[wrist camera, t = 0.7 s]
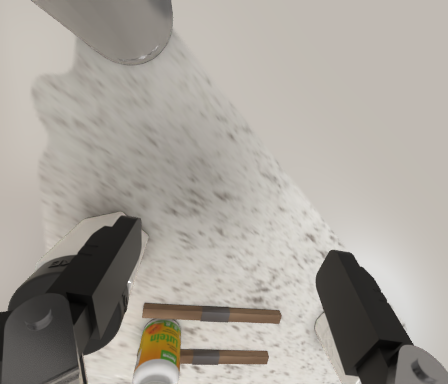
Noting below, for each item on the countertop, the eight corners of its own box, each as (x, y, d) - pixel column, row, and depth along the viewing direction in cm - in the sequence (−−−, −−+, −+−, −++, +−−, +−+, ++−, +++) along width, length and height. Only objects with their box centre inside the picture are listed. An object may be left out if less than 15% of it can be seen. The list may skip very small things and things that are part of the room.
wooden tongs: (144, 302, 33) (143, 308, 32) (279, 310, 36) (282, 315, 35) (137, 356, 35) (136, 364, 34) (264, 358, 39) (266, 365, 38)
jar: (162, 245, 31) (148, 318, 19) (117, 284, 31) (76, 376, 20) (109, 196, 28) (54, 247, 17) (59, 240, 29) (-26, 318, 17)
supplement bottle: (184, 318, 34) (183, 390, 25) (176, 347, 36) (172, 426, 26) (147, 314, 33) (131, 387, 24) (139, 344, 35) (121, 425, 25)
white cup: (359, 331, 40) (411, 396, 31) (316, 348, 40) (356, 419, 30) (351, 296, 38) (406, 354, 28) (306, 314, 38) (346, 379, 28)
